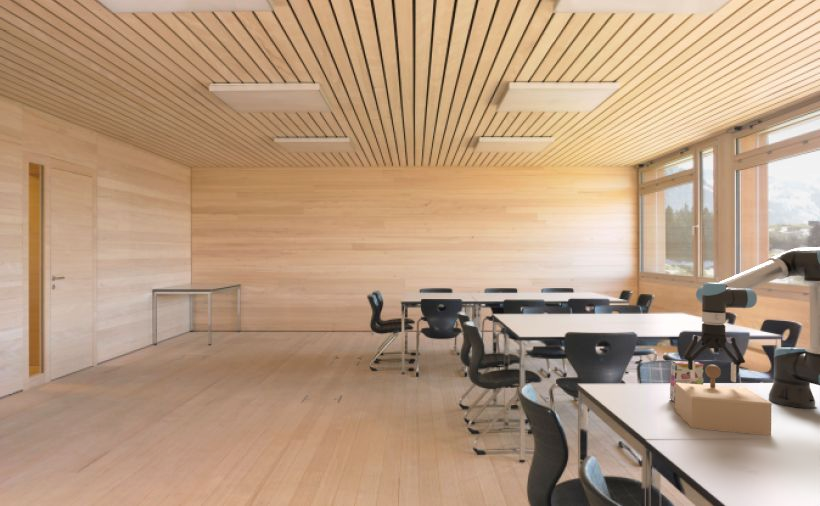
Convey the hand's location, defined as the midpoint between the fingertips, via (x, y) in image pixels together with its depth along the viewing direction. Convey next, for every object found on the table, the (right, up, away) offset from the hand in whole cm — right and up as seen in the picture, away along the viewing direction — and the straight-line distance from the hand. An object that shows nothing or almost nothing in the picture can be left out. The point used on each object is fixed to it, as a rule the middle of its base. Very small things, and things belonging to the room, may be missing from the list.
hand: (712, 380), depth 180 cm
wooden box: (-2, -13, -7) cm, 15 cm away
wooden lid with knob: (-2, -3, -7) cm, 8 cm away
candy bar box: (0, -14, +17) cm, 22 cm away
